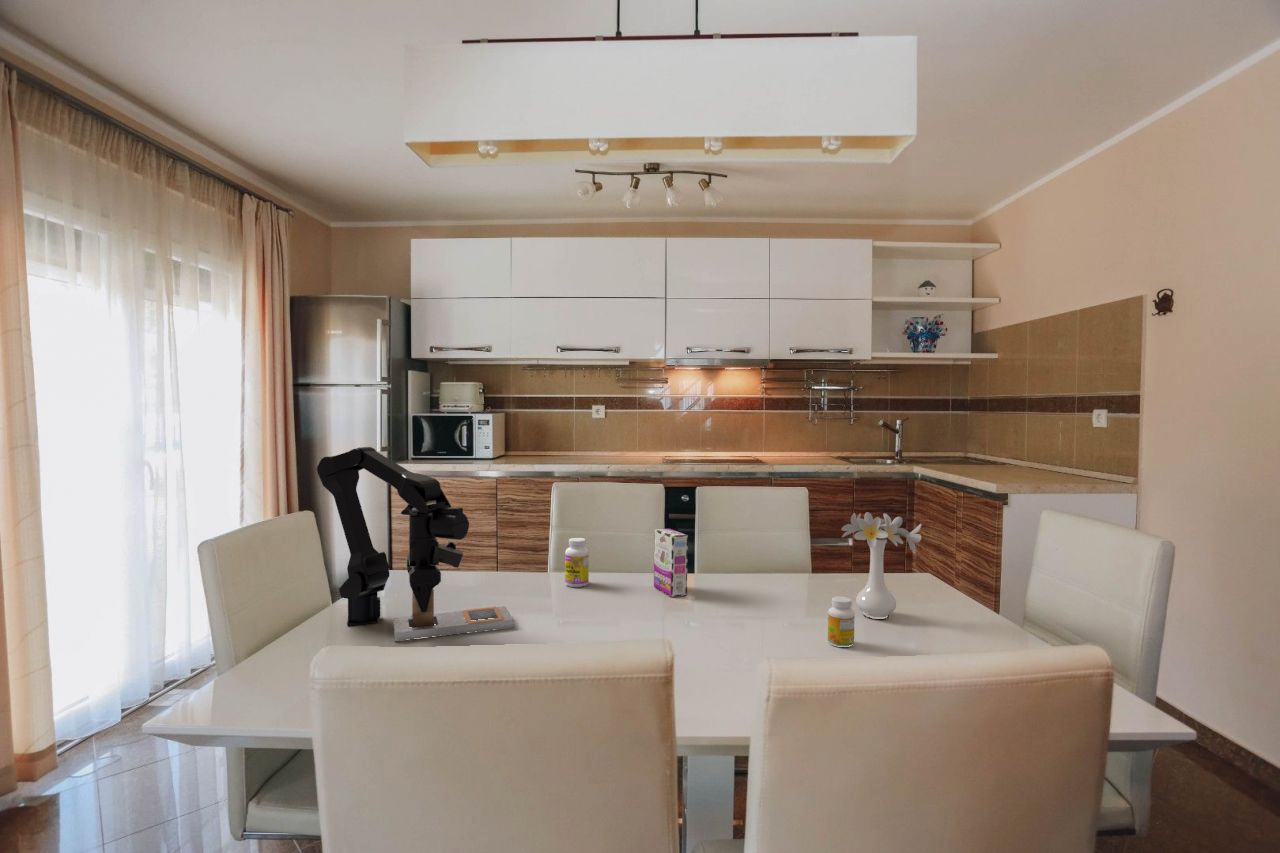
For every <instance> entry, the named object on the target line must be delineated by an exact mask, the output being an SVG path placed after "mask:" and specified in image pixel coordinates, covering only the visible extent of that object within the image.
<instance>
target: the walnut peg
mask: <svg viewBox="0 0 1280 853" xmlns="http://www.w3.org/2000/svg"><path fill="white" fill-rule="evenodd" d="M434 591H435V590H434V588H433V589H432V592H431V596H430V600H429V604H428V608H427V611H426V612H421V610H420V607H419V605H418V603H417V600H416V598H415V596H414V593H413V591H412V590H411V592H412V594H411V595H412V598H411V600H412V602H411V603H412V605H411V606H412V608H411V609H412V610H411V611H412V613H411V614H412V628H414V627H423V626H432V625H434V614H435V612H434V611H435V608H434V607H435V606H434V605H435V599H434V598H435V594H434Z"/></svg>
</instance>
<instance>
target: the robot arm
mask: <svg viewBox="0 0 1280 853" xmlns="http://www.w3.org/2000/svg"><path fill="white" fill-rule="evenodd" d="M363 469H364V470H365V471H367V472H369V473H370V474H372V475H373V476H375V477H377V478H378V479H380V480H382V481H383V482H384V483H387V484H388V485H390V486H391V487H392V488H394V489H395V490H396V491H397V494H398V496H399V497H400V498H401V499H402V500H403V501H404V502H405V503H406V504H407V506H406V507H405V508H404V509H402V510H401V511H400V514H401V515H403V516H409V517H408V523H409V524H408V525H409V527H408V530H409V532H408V546H409V547H408V548H409V549H408V554H407V555H406V559H405V560H406V570H407V572H408V581H409V587H410V588H411V592H412V591H413V593H414V596H415V598H416V600H417V603H418V605H419V607H420V610H421V612H426V611H427V608H428V604H429V600H430V596H431V592H432V589H433V590H434V588H435V587H437V586H438V585H439V584H441V582H442V573H441V569H440V568H439V567H438V566H439V564H440V563H441V564H444V565H449V566H452V567H453V568H459V567H460V564H461V562H462V559H463V557H464V553H463V551H462V550H461V549H459V548H457V545H456V542H453V541H450V540H459V541H460V540H463V539H464V538H465V537H466V536H467V534H468V531H469V528H470V521H469V520H468V517H467V515H466V514H465V513H464V509H463V507H452V505H451V503H450V502H449V499H448V498H447V496H446V495H445V493H444V491H443V490H442V487H441V483H440V481H439V480H438V479H437V478H435V477H431V476H429V475H426V474H421V473H417V472H416V473H415V472H413V471H410V470H408V469H406V468H405V467H403V466H402V465H401V464H398V463H397V462H395V461H393V460H392V459H390V458H389V457H387V456H385V455H383V454H381V453H379V452H378V451H377V450H376V449H375V447H371V446H364V447H362V446H361V447H355V448H354V449H350V450H349V451H346V452H343V453H340V454H337V455H331V456H324V457H322V458H321V459H320V460H319V462H318V465H317V467H316V471H317V475H318V477H319V479H320V481H321V484H322V486H323V487H324V488H325V489H326V490H327V491H328V492H329V493H330V494H331V495H332V496H333V500H334V502H335V506H336V509H337V512H338V517H339V519H340V522H341V525H342V526H341V527H342V529H343V532H344V536H345V540H346V542H347V543H346V544H347V547H348V550H349V553H350V557H349V561H348V563H347V568H346V569H347V575H348V577H347V579H346V580H345V581H344V582H343V584H342V585H340V587H339V589H338V591H339V595H340V598H341V599H346V600H347V622H346V625H347V626H348V627H349V626H357V625H367V624H376V623H379V619H380V618H381V597H380V596H379V597H378V592H382V591H384V590H385V588H386V584H387V582H388V579H389V578H390V570H389V569H391V566H390V564H389V562H388V558H387V554H386V553H385V551H382V552H379V551H377V549H375V548H374V546H373V543H372V539H371V536H370V533H369V529H368V525H367V522H366V518H365V515H364V511H363V509H362V505H361V501H360V499H359V495H358V492H357V486H358V483H359V481H360V480H359V479H360V471H362V470H363ZM438 538H440V539H450V540H448V541H447V543H445V544H439V543H440V542H439V541H438Z"/></svg>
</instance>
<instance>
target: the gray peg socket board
mask: <svg viewBox="0 0 1280 853" xmlns="http://www.w3.org/2000/svg"><path fill="white" fill-rule="evenodd" d="M488 618H494V619H488ZM478 619H485V620H478ZM471 620H476V621H471ZM434 624H436V625H432V626H423V627H414V628H409V627H412V616H411V615H410V616H403V617H402V616H399V617H394V618H393V636H394V638H395V639H394V642H395V641H400V642H402V641H401V640H406V639H414V638H421V637H432V636H440V635H449V634H458V633H467V632H475V631H484V632H486V631H485V630H492V631H494V630H493V629H500V630H503V629H502V628H509V629H514V619H513V616H512V615H511V613H510V611H508V609H507V607H506V606H505V605H504V606H498V607H497V606H489V607H479V608H473V609H472V608H470V609H463V610H458V611H457V610H456V611H450V612H438V613H434ZM475 633H476V632H475ZM467 634H468V633H467Z"/></svg>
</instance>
